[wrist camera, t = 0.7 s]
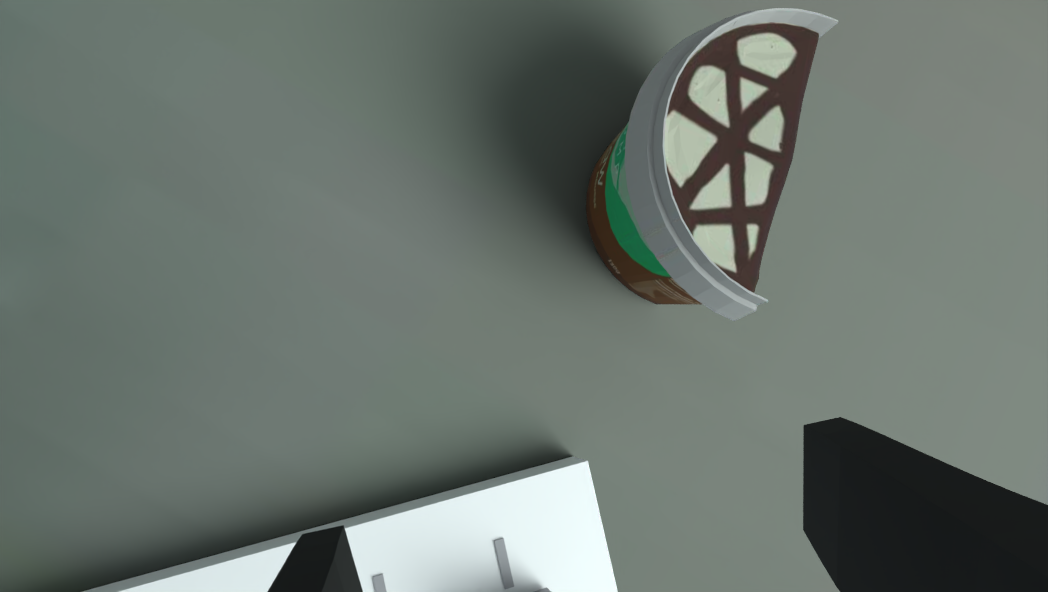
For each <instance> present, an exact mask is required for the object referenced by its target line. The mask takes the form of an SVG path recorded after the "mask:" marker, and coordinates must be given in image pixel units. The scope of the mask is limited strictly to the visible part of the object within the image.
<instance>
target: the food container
mask: <svg viewBox="0 0 1048 592" xmlns="http://www.w3.org/2000/svg"><path fill="white" fill-rule="evenodd" d="M838 21H839V20H836V19H833V18H831V17H828V16H826V15H823V14H820V13H816V12H811V11H806V10H802V9H790V8H774V9H766V10H758V11H750V12H744V13H741V14H738V15H734V16H731V17H728V18H725V19H723V20H721V21H719V22H717V23H714V24H712V25H710V26H708V27H706V28H704V29H702V30H700V31H698V32H696V33H694V34H692V35H691V36H689V37H687V38H685V39H683V40H682V41H681V42H680V43H678V44H677V45H676V46H675V47H673V48H672V49H671V50H670V51H668V52H667V53H666V54H665V55H664V56H663V57H662V59H661V60H660V61H659V62H658V63H657V64H656V65H655V67H654V68H653V69H652V70H651V72H650V73H649V75H648V77H647V78H646V80H645V82H644V83H643V85H642V87H641V88H640V90H639V93H638V95H637V98H636V100H635V103H634V106H633V108H632V111H631V114H630V119H629V122H628V124H627V125H626V126H625V127H624V128H623V129H622V131H621V132H620V133H619V134H618V135H617V136H616V138H615V139H614V140H613V141H612V142H611V143H610V145H609V146H608V147H607V148H606V150H605V151H604V153H603V154H602V156H601V157H600V159H599V160H598V162H597V163H596V165H595V167H594V170H593V172H592V175H591V177H590V180H589V185H588V190H587V198H586V213H587V222H588V226H589V230H590V234H591V238H592V240H593V243H594V245H595V247H596V250H597V252H598V254H599V255H600V257H601V259H602V260H603V262H604V263H605V265H606V267H607V268H608V269H609V270H610V271H611V273H612V274H613V275H614V276H615V277H616V278H617V279H618V280H619V281H620V282H621V283H622V284H623V285H624V286H626V287H627V288H628V289H629V290H631V291H632V292H634V293H635V294H637V295H638V296H640V297H642V298H644V299H646V300H648V301H651V302H653V303H655V304H703V305H705V306H706V307H708V308H709V309H711V310H712V311H714V312H716V313H718V314H720V315H722V316H724V317H727V318H729V319H731V320H733V321H735V320H737V319H740V318H742V317H744V316H746V315H748V314H750V313H753V312H755V311H756V309H757V305H759V304H763V303H767V302H768V300H767V299H765V298H763V297H761V296H759V295H757V294H755V293H754V291H755V287H756V284H757V282H758V279H759V269H760V265H761V260H762V255H763V252H764V248H765V244H766V241H767V237H768V233H769V229H770V226H771V223H772V220H773V216H774V213H775V210H776V207H777V204H778V201H779V198H780V195H781V192H782V190H783V187H784V184H785V181H786V177H787V174H788V171H789V168H790V165H791V162H792V158H793V153H794V148H795V143H796V137H797V130H798V124H799V118H800V112H801V107H802V101H803V97H804V93H805V89H806V85H807V81H808V77H809V73H810V69H811V65H812V62H813V58H814V54H815V50H816V46H817V42H818V39H819V38H820V37H821V36H822V35H823V34H825V33H826V32H827V31H828V30H829V29H831V28H832V27H833V26H834V25H835V24H837V23H838Z"/></svg>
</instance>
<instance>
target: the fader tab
mask: <svg viewBox="0 0 1048 592" xmlns="http://www.w3.org/2000/svg"><path fill="white" fill-rule="evenodd" d="M534 592H551V591H550V590H549V589H548V588H543V589H540V590H537V591H534Z"/></svg>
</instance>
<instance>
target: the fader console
mask: <svg viewBox="0 0 1048 592" xmlns="http://www.w3.org/2000/svg"><path fill="white" fill-rule="evenodd" d="M342 525H344V528H345V531H346V535H347V538H348V542H349V545H350V549H351V552H352V556H353V559H354V562H355V566H356V569H357V573H358V576H359V580H360V583H361V587H362V590H363V592H534V591H537V590H540V589H543V588H548V589H549V590H550V591H551V592H618V591H617V587H616V583H615V578H614V574H613V569H612V565H611V561H610V556H609V552H608V547H607V543H606V539H605V534H604V530H603V526H602V521H601V517H600V512H599V508H598V504H597V499H596V495H595V490H594V486H593V482H592V477H591V473H590V469H589V464H588V461H587V460H584V459H580V458H577V457H574V456H573V457H569V458H565V459H562V460H558V461H554V462H551V463H547V464H543V465H540V466H536V467H533V468H529V469H525V470H522V471H518V472H514V473H511V474H507V475H504V476H500V477H496V478H493V479H489V480H485V481H482V482H478V483H474V484H471V485H467V486H464V487H460V488H456V489H453V490H449V491H445V492H442V493H438V494H435V495H431V496H427V497H424V498H420V499H416V500H413V501H409V502H405V503H402V504H398V505H395V506H391V507H387V508H384V509H380V510H376V511H373V512H369V513H366V514H362V515H358V516H355V517H351V518H347V519H344V520H340V521H336V522H333V523H329V524H326V525H322V526H318V527H315V528H311V529H307V530H304V531H300V532H297V533H293V534H289V535H286V536H282V537H278V538H275V539H271V540H267V541H264V542H260V543H257V544H253V545H249V546H246V547H242V548H238V549H235V550H231V551H228V552H224V553H220V554H217V555H213V556H209V557H206V558H202V559H198V560H195V561H191V562H188V563H184V564H180V565H177V566H173V567H169V568H166V569H162V570H159V571H155V572H151V573H148V574H144V575H140V576H137V577H133V578H129V579H126V580H122V581H119V582H115V583H111V584H108V585H104V586H100V587H97V588H93V589H90V590H86V591H82V592H268V590H269V588H270V587H271V585H272V583H273V581H274V580H275V578H276V576H277V575H278V573H279V571H280V570H281V568H282V566H283V564H284V563H285V561H286V559H287V557H288V556H289V554H290V552H291V551H292V549H293V547H294V546H295V544H296V542H297V541H298V539H299V538H300V537H301V535H302V534H305V533H310V532H314V531H319V530H323V529H328V528H333V527H337V526H342Z"/></svg>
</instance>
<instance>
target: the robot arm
mask: <svg viewBox="0 0 1048 592" xmlns="http://www.w3.org/2000/svg"><path fill="white" fill-rule="evenodd" d="M803 530H804V532H805V534H806V535H807V537H808V539H809V541H810V542H811V544H812V546H813V548H814V550H815V551H816V553H817V555H818V557H819V558H820V560H821V562H822V563H823V565H824V567H825V568H826V570H827V572H828V573H829V575H830V577H831V578H832V580H833V582H834V583H835V585H836V587H837V588H838V589H839V591H840V592H1048V505H1046V504H1043V503H1041V502H1038V501H1036V500H1033V499H1030V498H1028V497H1025V496H1023V495H1020V494H1018V493H1015V492H1012V491H1010V490H1008V489H1005V488H1003V487H1000V486H998V485H995V484H993V483H991V482H988V481H986V480H983V479H981V478H979V477H976V476H974V475H972V474H969V473H967V472H965V471H963V470H960V469H958V468H956V467H953V466H951V465H949V464H947V463H944V462H942V461H940V460H938V459H935V458H933V457H931V456H929V455H927V454H924V453H922V452H920V451H918V450H915V449H913V448H911V447H909V446H907V445H904V444H902V443H900V442H898V441H896V440H893V439H891V438H889V437H887V436H884V435H882V434H880V433H878V432H875V431H873V430H871V429H869V428H866V427H864V426H862V425H859V424H857V423H854V422H852V421H849V420H847V419H844V418H841V417H839V418H834V419H830V420H825V421H820V422H816V423H811V424H807V425H804V485H803ZM268 592H363V590H362V587H361V583H360V580H359V576H358V573H357V569H356V566H355V562H354V559H353V556H352V552H351V549H350V545H349V542H348V538H347V535H346V531H345V528H344V525H342V526H337V527H333V528H328V529H323V530H319V531H314V532H310V533H305V534H302V535H301V537H300V538H299V539H298V541H297V542H296V544H295V546H294V547H293V549H292V551H291V552H290V554H289V556H288V557H287V559H286V561H285V563H284V564H283V566H282V568H281V570H280V571H279V573H278V575H277V576H276V578H275V580H274V581H273V583H272V585H271V587H270V588H269V590H268Z"/></svg>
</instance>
